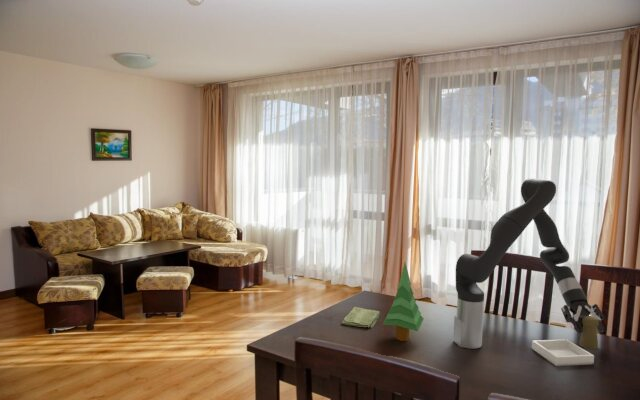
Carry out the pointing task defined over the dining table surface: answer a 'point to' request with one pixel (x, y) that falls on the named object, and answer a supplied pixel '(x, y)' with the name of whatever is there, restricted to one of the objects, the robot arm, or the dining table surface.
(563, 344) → the tray
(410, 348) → the dining table surface
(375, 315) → the washcloth
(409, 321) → the decorative tree
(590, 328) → the cork
